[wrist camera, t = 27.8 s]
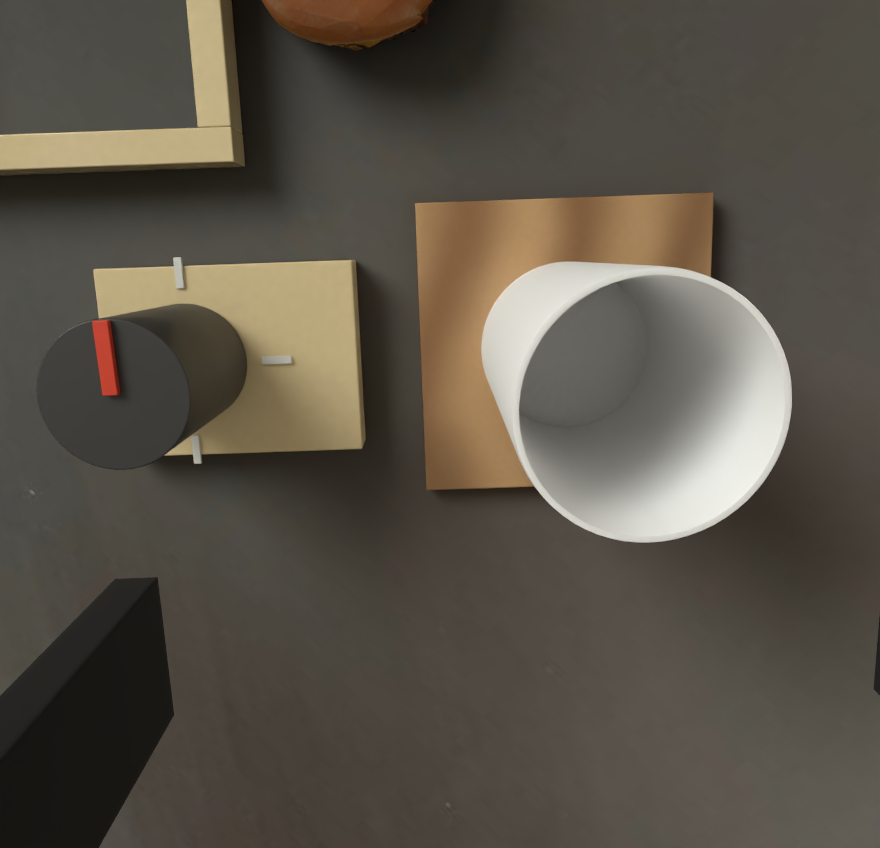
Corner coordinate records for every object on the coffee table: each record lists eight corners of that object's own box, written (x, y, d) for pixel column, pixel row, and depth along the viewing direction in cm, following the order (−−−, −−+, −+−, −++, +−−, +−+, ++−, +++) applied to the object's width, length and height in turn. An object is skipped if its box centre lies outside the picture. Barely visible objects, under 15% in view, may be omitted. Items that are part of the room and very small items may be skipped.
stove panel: (355, 251, 39) (350, 251, 37) (366, 447, 41) (362, 458, 39) (90, 260, 39) (70, 261, 37) (114, 456, 41) (96, 467, 39)
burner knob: (253, 417, 39) (196, 468, 29) (137, 424, 39) (44, 476, 30) (241, 300, 37) (178, 314, 28) (121, 306, 37) (19, 323, 28)
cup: (633, 243, 38) (770, 234, 22) (664, 408, 40) (812, 509, 24) (464, 284, 38) (482, 305, 23) (501, 447, 40) (542, 571, 24)
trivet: (707, 193, 39) (714, 192, 38) (698, 475, 41) (704, 481, 40) (415, 204, 39) (414, 203, 38) (426, 485, 41) (426, 490, 40)
